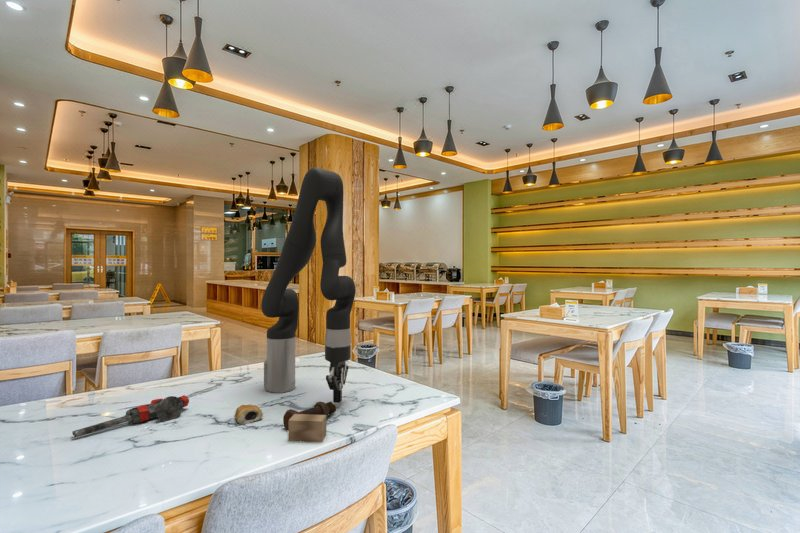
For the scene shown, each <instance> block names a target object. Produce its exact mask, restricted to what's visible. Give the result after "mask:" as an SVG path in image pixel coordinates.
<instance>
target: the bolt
mask: <svg viewBox="0 0 800 533" xmlns="http://www.w3.org/2000/svg"><path fill="white" fill-rule="evenodd" d="M336 411H337V405H336V403H334V402H333V401H327V402H324V401H317V402H316V403H315V404H314V405H313V407H310V408H307V409H304V410H301V411H297V410H295V409H292V408H289V409H287V410H286V411H285V413H284V415H283V417H282V419H283V420H282V422H283V427H284V429H285V430H286V431H287V430H288V428H289V419H290V418H291V417H292V416H293V415H294V414H311V415H326V419H327V418H328V417H329V416H330V415H332V414H335V413H336Z"/></svg>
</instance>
